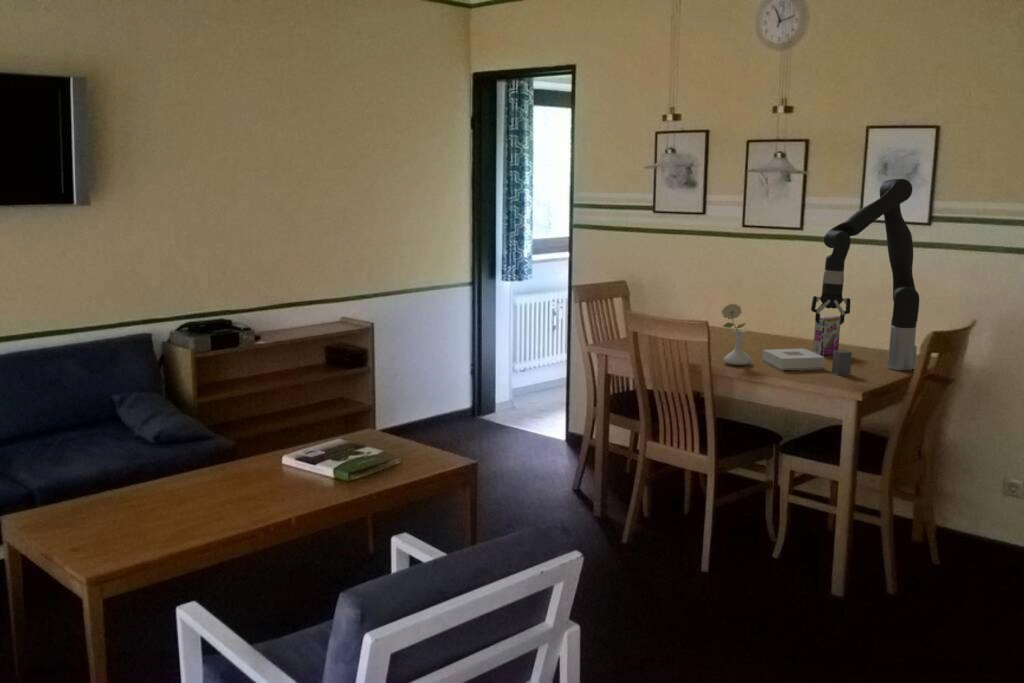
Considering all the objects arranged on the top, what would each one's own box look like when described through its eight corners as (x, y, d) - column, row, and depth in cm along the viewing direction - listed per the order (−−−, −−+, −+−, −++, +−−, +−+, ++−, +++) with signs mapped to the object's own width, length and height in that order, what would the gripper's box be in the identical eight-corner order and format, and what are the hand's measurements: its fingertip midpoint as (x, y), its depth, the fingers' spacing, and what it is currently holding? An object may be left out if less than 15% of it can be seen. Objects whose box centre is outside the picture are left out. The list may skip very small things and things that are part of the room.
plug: (843, 372, 369) (845, 349, 367) (850, 375, 364) (851, 352, 362) (831, 372, 368) (833, 350, 366) (838, 375, 363) (839, 352, 362)
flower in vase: (753, 362, 386) (756, 302, 382) (750, 368, 376) (753, 306, 371) (721, 360, 391) (723, 301, 386) (717, 365, 380) (720, 304, 375)
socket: (803, 360, 391) (804, 348, 390) (824, 369, 373) (824, 357, 372) (762, 361, 388) (763, 349, 387) (781, 371, 371) (782, 358, 370)
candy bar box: (821, 356, 398) (824, 318, 395) (812, 354, 402) (814, 317, 399) (839, 353, 404) (841, 316, 401) (829, 351, 408) (832, 314, 405)
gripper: (850, 282, 365) (846, 323, 367) (812, 280, 367) (808, 321, 370) (854, 284, 357) (849, 326, 360) (815, 282, 360) (811, 323, 362)
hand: (829, 323), depth 365 cm, fingers open, 8 cm apart
